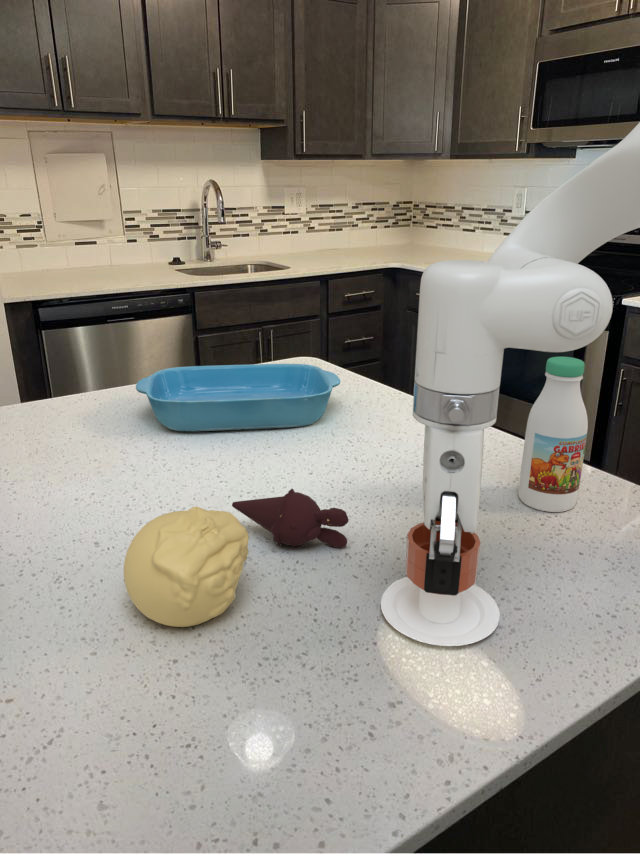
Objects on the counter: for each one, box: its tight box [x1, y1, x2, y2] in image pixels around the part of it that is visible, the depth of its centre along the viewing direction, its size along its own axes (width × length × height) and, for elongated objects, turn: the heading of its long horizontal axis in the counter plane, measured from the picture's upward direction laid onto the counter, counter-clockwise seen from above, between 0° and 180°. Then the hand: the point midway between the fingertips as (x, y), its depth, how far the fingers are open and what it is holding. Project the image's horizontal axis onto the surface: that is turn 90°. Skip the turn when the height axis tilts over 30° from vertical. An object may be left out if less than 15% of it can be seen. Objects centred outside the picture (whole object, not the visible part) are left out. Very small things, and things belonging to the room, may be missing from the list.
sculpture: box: [123, 506, 250, 628], centre depth 67 cm, size 12×12×11 cm
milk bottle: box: [518, 356, 589, 513], centre depth 88 cm, size 8×8×20 cm
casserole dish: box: [135, 363, 341, 432], centre depth 122 cm, size 37×22×7 cm, turn 99°
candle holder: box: [380, 576, 501, 647], centre depth 68 cm, size 12×12×4 cm
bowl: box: [404, 521, 481, 595], centre depth 66 cm, size 7×7×4 cm
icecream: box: [231, 488, 349, 549], centre depth 80 cm, size 7×7×15 cm
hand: (441, 568), depth 66 cm, fingers closed on bowl, 7 cm apart
